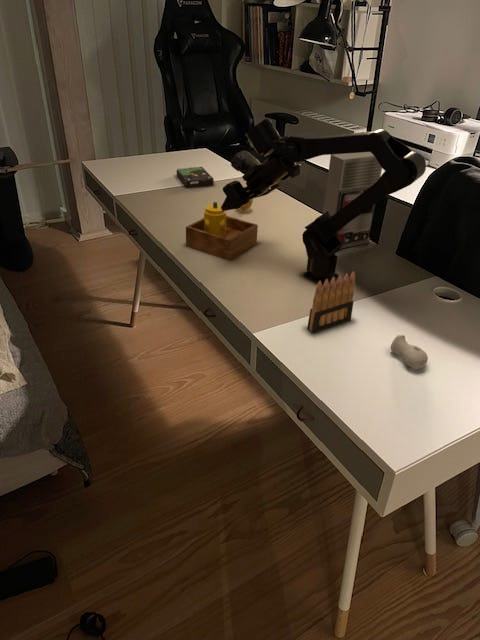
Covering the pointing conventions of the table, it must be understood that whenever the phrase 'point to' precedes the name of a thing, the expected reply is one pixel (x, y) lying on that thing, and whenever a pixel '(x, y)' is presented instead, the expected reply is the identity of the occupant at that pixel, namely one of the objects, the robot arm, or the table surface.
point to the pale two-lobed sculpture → (409, 352)
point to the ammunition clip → (332, 304)
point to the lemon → (247, 205)
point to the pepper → (215, 220)
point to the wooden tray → (223, 238)
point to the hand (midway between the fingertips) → (232, 204)
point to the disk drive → (195, 177)
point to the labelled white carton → (351, 192)
